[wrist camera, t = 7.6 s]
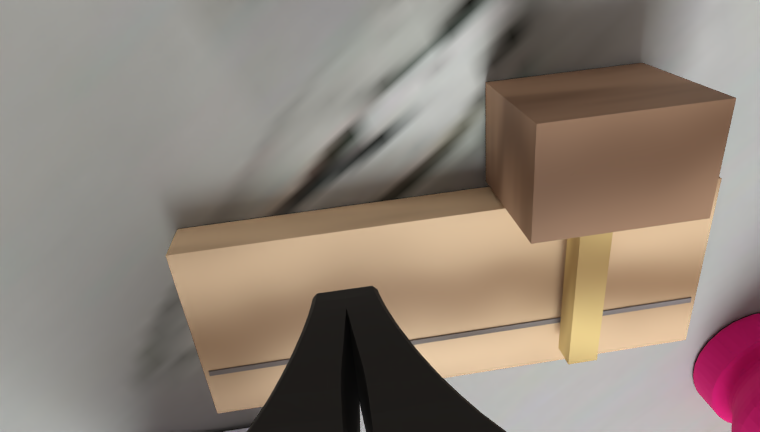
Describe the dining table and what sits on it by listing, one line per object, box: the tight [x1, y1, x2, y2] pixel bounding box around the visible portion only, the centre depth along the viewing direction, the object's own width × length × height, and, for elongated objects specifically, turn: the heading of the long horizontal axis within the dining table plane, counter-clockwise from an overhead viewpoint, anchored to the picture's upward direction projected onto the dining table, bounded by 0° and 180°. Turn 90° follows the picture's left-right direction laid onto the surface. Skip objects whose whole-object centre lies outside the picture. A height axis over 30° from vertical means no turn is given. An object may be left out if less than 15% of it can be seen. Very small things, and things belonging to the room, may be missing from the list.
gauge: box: [486, 63, 736, 364], centre depth 20 cm, size 11×6×5 cm, turn 5°
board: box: [166, 177, 722, 414], centre depth 23 cm, size 8×21×2 cm, turn 95°
